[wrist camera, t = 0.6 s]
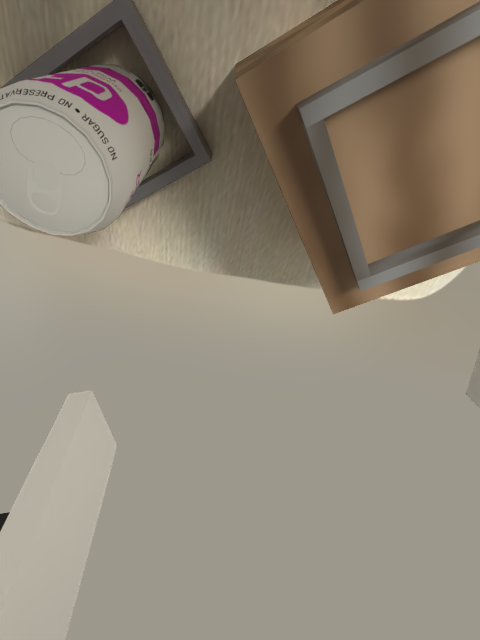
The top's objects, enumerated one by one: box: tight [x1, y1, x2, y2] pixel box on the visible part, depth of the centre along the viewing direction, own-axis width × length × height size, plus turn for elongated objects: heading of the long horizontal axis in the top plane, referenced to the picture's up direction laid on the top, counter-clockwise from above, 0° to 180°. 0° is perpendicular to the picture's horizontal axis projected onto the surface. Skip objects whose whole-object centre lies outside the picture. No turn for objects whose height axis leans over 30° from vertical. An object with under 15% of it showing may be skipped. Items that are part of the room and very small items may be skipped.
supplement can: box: [0, 64, 165, 236], centre depth 24 cm, size 8×8×15 cm
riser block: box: [235, 0, 480, 314], centre depth 25 cm, size 18×18×14 cm
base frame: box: [1, 0, 212, 208], centre depth 29 cm, size 12×12×2 cm
